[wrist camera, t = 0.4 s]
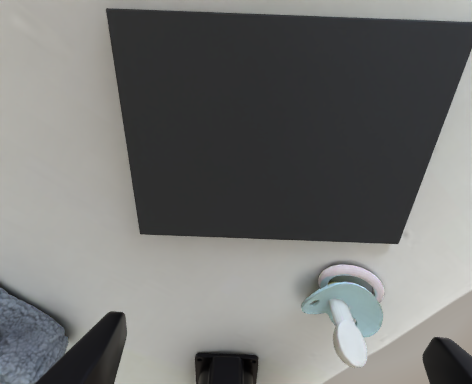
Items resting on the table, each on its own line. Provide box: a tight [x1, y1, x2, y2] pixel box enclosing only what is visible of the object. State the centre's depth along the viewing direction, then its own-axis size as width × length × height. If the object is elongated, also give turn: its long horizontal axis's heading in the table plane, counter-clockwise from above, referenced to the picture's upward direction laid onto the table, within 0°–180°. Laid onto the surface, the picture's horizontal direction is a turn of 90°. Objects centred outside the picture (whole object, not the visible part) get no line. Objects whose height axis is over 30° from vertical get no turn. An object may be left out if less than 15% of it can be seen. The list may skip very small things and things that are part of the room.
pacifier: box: [301, 264, 385, 368], centre depth 24 cm, size 7×6×6 cm
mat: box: [106, 8, 472, 244], centre depth 20 cm, size 15×20×1 cm
